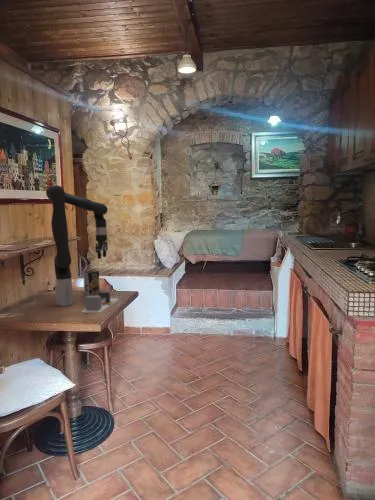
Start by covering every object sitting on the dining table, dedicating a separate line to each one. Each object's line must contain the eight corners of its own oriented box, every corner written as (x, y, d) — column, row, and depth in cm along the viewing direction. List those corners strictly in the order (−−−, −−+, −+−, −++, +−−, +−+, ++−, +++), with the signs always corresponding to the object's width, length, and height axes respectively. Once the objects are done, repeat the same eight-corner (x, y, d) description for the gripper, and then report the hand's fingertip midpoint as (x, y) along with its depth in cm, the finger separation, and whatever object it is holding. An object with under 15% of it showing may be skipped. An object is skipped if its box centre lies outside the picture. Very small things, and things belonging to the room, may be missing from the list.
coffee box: (90, 295, 263) (88, 273, 261) (84, 294, 267) (83, 272, 265) (100, 293, 270) (99, 271, 268) (94, 291, 274) (93, 270, 272)
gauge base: (81, 312, 220) (80, 297, 219) (102, 299, 250) (101, 286, 249) (100, 313, 218) (99, 298, 217) (119, 300, 248) (118, 286, 247)
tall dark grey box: (91, 306, 228) (90, 297, 227) (99, 301, 241) (99, 292, 240) (106, 307, 226) (105, 297, 226) (114, 301, 239) (113, 292, 238)
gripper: (100, 233, 260) (101, 256, 262) (91, 234, 246) (92, 259, 248) (110, 233, 258) (111, 256, 260) (102, 234, 245) (103, 259, 246)
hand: (102, 257), depth 254 cm, fingers open, 8 cm apart
